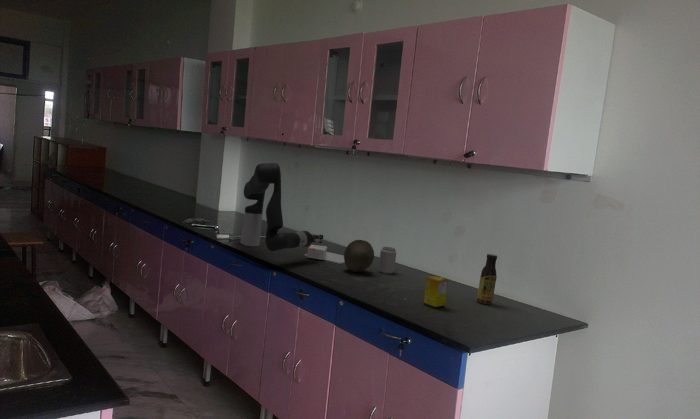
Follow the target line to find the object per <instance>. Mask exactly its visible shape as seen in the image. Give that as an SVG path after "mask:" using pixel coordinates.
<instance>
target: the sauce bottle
mask: <svg viewBox="0 0 700 419" xmlns="http://www.w3.org/2000/svg"><path fill="white" fill-rule="evenodd" d="M497 259H498V255H497V254H492V253H487V255H486V261H485V266H483V268H482V269H481V273H480V277H479V284H478V288H477V289H478V290H477V294H476V302H477V303H479V304H482V305H487V306H488V305H492V304H493V303H492V302H494V294H495V287H496V283H497V269H496V264H497Z"/></svg>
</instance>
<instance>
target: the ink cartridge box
mask: <svg viewBox="0 0 700 419" xmlns="http://www.w3.org/2000/svg"><path fill="white" fill-rule="evenodd" d="M327 250H328V246H325V245H319V244H318V245H316V244H311V245H310V246H308V248H307V250H306V254H307V256H306V258H308V259H314V260H322V261H324V260H323V259H324V258H325V256H326V253H327V252H328V251H327Z"/></svg>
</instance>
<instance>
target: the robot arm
mask: <svg viewBox="0 0 700 419" xmlns="http://www.w3.org/2000/svg"><path fill="white" fill-rule="evenodd" d="M271 184H273V192H272V195H271V197H270V200H269V201H268V203H267V206H266V209H265V217H266V218H265V219H266V225H267V226H266V232H265V241H264V242H265V243H264V244H265V246H266V249H267V250H269V251H270V252H277V251H280V250H285V249H299V248H301V249H302V248H306V247H308V248H309V247H310V246H311V245H312V244H314V243H319V244H322V243H323V239H324V235H323V234H315V233H311V232H309V231H308V230H300V231H295V232H279V233H278V231H279V230H280V229H282V228H283V226H284V220H283V219H284V218H283V213H282V212H283V211H282V173H281V167H280V165H279V163H277V162H269V163H267V162H266V163H259V164H257V165H256V167H255V169H254V173H253V175H252V176H251V177H250V179H249V181H247V182H246V183H245V185H244V187H243V196H244V198H245V199H247V200H252V201H256V202H255V203H253V204H251V205H247V206H246V207H245V208H244V216H243V225H242V226H241V232H240V242H239V243H240V244H241V245H242V246H245V247H260V241H261V233H262V232H261V231H262V224H263V223H262V222H263V212H264V201H265V196H266V191H267V189H268V188H269V187H270V185H271Z"/></svg>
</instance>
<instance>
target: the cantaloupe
mask: <svg viewBox="0 0 700 419" xmlns="http://www.w3.org/2000/svg"><path fill="white" fill-rule="evenodd" d="M343 256H344V261H345V263H344V264H345V266H346V268H347V269H348V270H349V271H351V272H353V273H361V272H363V271H365V270H367V269H368V268H369V267H371V265H372V264H373V262H374V259H375V251H374V249H373V246H372V244H371V242H368V241H367V240H363V239H355V240H353V241H351V242H349V244H348V245H347V246H346V248H345V250H344V253H343Z"/></svg>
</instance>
